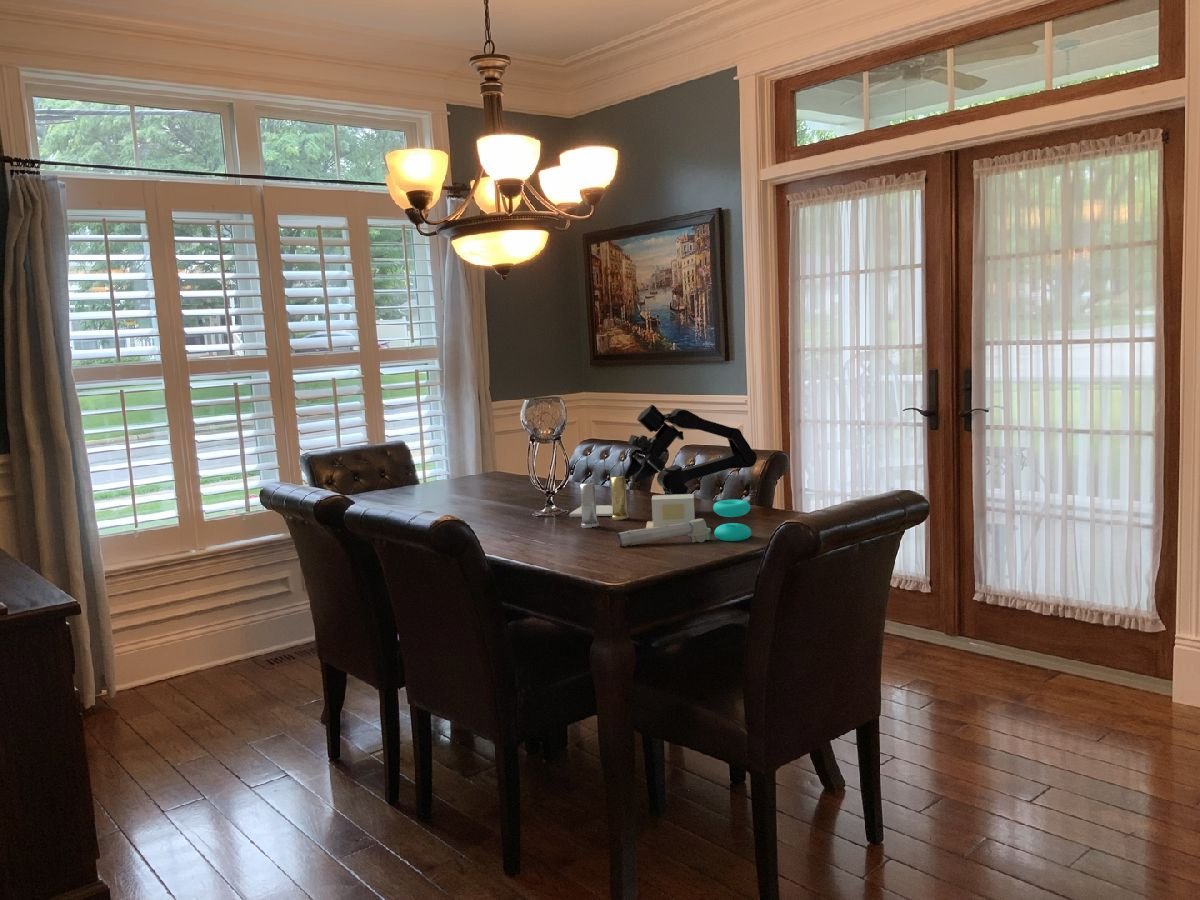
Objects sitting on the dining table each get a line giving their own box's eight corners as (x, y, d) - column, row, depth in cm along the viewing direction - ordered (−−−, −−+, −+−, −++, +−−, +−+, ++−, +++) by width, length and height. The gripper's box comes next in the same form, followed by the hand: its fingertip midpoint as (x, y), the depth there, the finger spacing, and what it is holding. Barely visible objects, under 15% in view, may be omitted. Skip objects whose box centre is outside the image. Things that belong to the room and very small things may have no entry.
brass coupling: (632, 518, 296) (629, 476, 294) (620, 521, 292) (618, 479, 291) (620, 516, 299) (617, 475, 298) (608, 519, 296) (606, 477, 294)
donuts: (745, 505, 253) (708, 505, 256) (746, 542, 254) (710, 541, 258) (754, 498, 262) (718, 498, 266) (755, 534, 263) (720, 533, 267)
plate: (623, 508, 313) (622, 505, 313) (612, 516, 300) (611, 513, 300) (582, 508, 317) (582, 505, 317) (569, 516, 303) (569, 513, 303)
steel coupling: (602, 526, 286) (599, 483, 285) (589, 529, 283) (587, 485, 281) (590, 524, 290) (587, 481, 288) (577, 527, 286) (575, 484, 285)
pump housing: (647, 524, 285) (646, 493, 284) (701, 522, 283) (700, 491, 282) (645, 532, 273) (644, 500, 272) (702, 530, 272) (700, 498, 271)
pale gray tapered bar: (616, 530, 260) (705, 512, 261) (620, 554, 261) (710, 536, 262) (617, 534, 255) (709, 516, 256) (622, 558, 256) (713, 540, 257)
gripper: (633, 422, 304) (601, 460, 302) (653, 427, 286) (620, 467, 284) (657, 445, 307) (626, 482, 305) (679, 451, 289) (646, 490, 288)
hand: (629, 480), depth 296 cm, fingers open, 9 cm apart
